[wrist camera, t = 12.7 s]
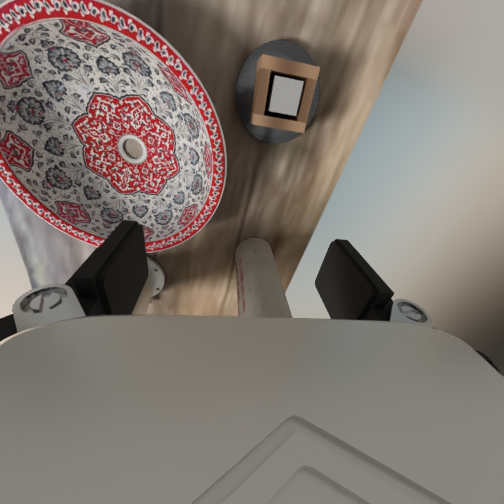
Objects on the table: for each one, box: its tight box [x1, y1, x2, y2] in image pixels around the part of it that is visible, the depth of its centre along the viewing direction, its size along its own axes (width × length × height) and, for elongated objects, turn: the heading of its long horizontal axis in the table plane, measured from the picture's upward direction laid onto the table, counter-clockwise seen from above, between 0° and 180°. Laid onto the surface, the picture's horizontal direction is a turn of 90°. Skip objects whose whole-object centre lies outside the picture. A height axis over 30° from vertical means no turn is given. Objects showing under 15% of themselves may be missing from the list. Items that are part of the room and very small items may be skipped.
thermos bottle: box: [235, 238, 292, 318], centre depth 37 cm, size 8×8×28 cm
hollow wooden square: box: [250, 54, 320, 133], centre depth 30 cm, size 7×7×5 cm
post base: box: [236, 40, 320, 144], centre depth 30 cm, size 12×12×6 cm
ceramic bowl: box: [0, 0, 227, 253], centre depth 32 cm, size 29×29×8 cm
